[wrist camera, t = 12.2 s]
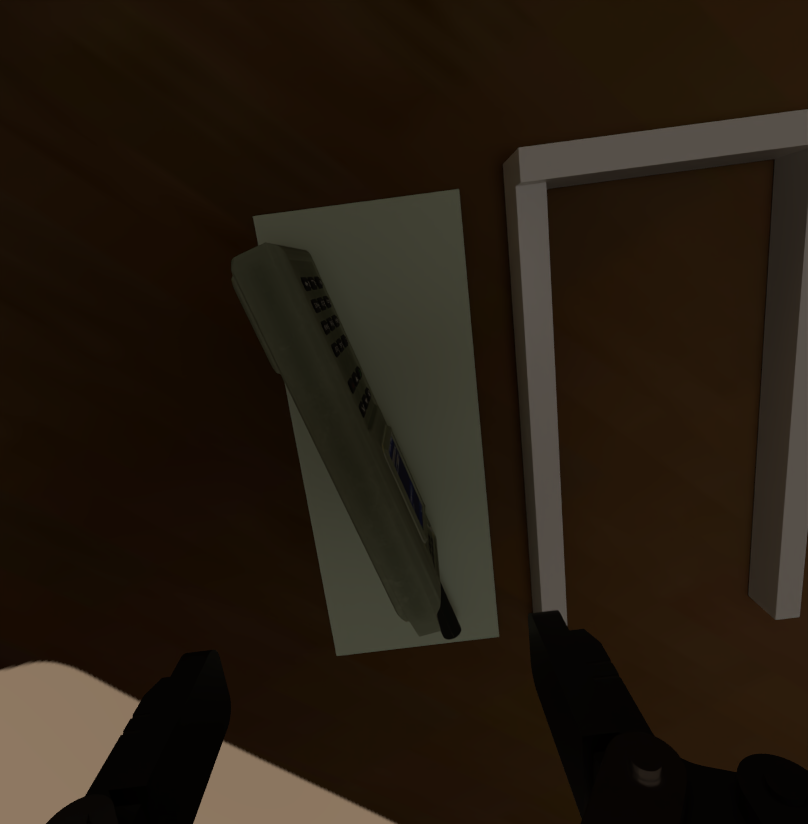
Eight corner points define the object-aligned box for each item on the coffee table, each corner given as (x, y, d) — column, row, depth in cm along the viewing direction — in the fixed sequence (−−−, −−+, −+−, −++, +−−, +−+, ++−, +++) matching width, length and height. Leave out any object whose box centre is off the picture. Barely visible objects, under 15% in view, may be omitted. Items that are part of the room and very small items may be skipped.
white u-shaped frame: (533, 621, 34) (549, 658, 31) (502, 164, 27) (518, 147, 23) (770, 592, 34) (812, 627, 30) (805, 124, 26) (865, 101, 23)
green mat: (337, 650, 34) (336, 655, 34) (255, 217, 27) (252, 216, 27) (497, 631, 34) (499, 636, 34) (457, 190, 27) (459, 189, 26)
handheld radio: (315, 242, 27) (476, 611, 33) (260, 266, 27) (429, 627, 33) (284, 233, 21) (490, 693, 27) (213, 265, 21) (433, 711, 27)
